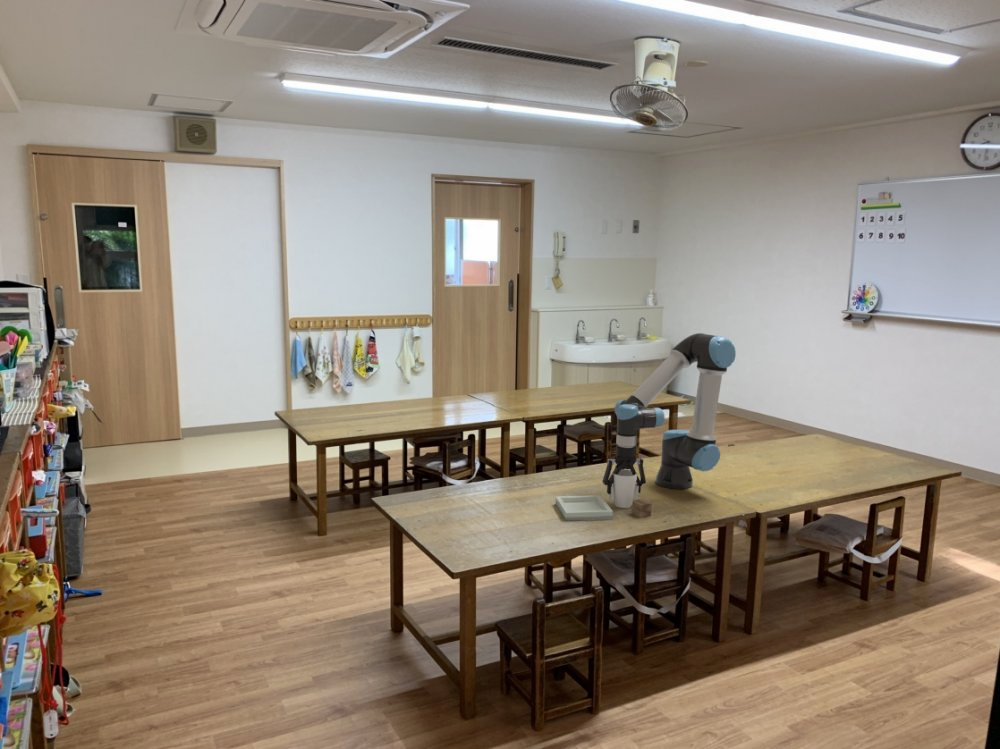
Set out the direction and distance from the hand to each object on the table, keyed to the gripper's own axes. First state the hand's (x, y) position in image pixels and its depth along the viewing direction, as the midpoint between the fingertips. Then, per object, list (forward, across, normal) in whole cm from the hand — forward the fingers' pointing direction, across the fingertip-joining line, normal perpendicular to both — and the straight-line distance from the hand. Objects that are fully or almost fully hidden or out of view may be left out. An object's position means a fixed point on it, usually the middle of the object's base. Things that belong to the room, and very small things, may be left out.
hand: (623, 501), depth 286 cm
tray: (+2, +17, +5) cm, 18 cm away
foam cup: (+2, 0, 0) cm, 2 cm away
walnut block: (+2, -4, +10) cm, 11 cm away
